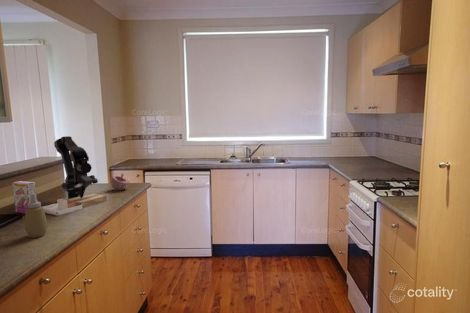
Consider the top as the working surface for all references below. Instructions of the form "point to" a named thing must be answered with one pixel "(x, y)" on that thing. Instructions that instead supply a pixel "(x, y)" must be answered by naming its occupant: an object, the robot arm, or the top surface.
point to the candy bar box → (23, 195)
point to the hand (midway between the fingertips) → (81, 197)
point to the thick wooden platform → (88, 200)
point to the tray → (55, 211)
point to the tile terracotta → (71, 204)
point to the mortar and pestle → (119, 182)
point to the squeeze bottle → (35, 219)
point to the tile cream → (62, 204)
